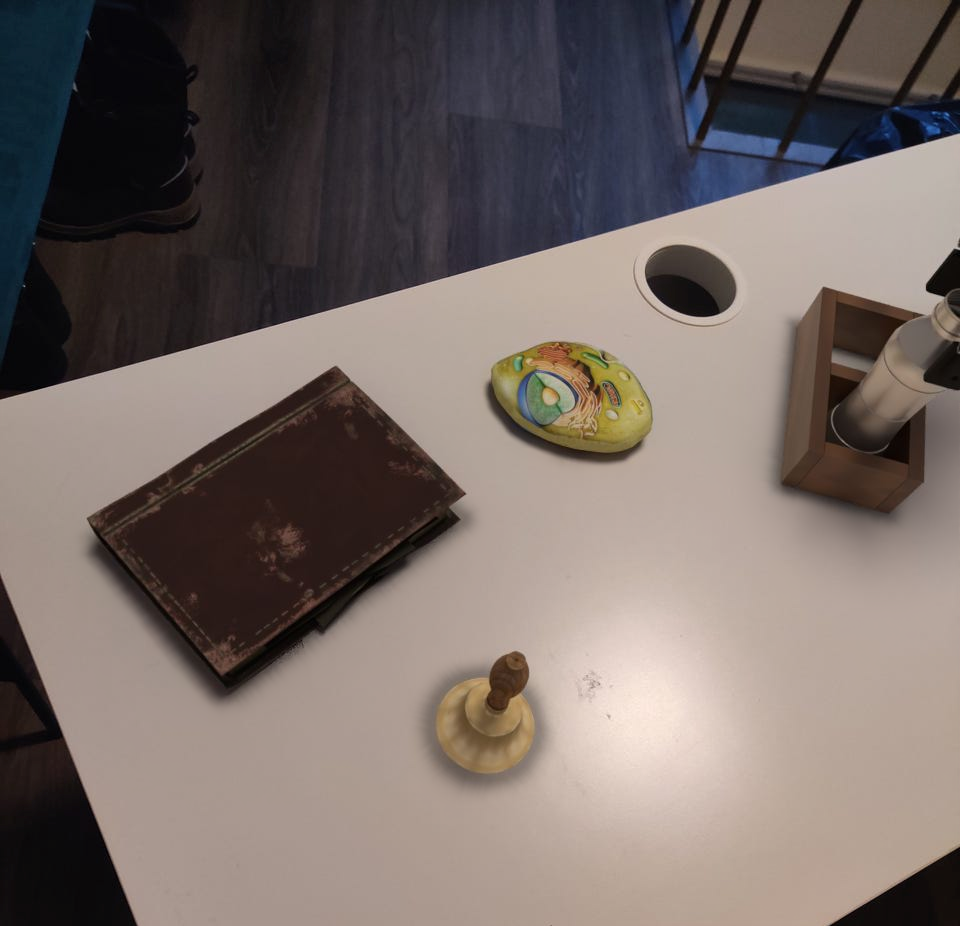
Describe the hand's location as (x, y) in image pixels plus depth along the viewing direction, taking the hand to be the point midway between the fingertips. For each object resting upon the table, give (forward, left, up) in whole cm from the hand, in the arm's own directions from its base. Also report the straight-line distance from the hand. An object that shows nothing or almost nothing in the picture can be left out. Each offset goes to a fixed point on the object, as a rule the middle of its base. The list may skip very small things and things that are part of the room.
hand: (941, 337), depth 69 cm
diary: (+54, +1, -17) cm, 57 cm away
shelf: (-2, -4, -17) cm, 17 cm away
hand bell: (+41, +21, -17) cm, 49 cm away
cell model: (+26, -8, -17) cm, 32 cm away
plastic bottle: (0, 0, -17) cm, 17 cm away
